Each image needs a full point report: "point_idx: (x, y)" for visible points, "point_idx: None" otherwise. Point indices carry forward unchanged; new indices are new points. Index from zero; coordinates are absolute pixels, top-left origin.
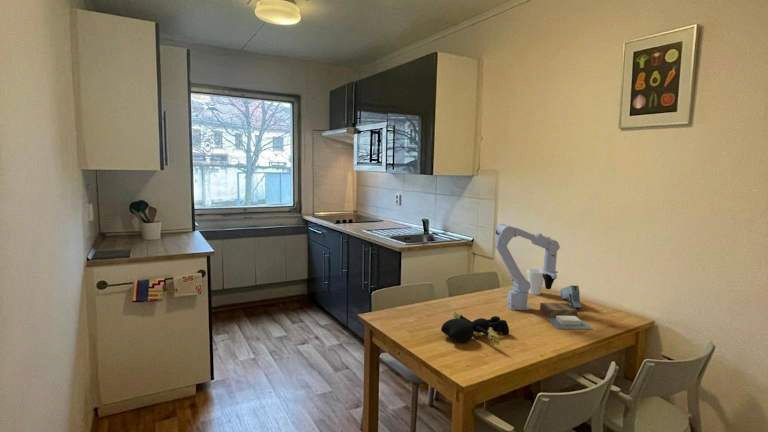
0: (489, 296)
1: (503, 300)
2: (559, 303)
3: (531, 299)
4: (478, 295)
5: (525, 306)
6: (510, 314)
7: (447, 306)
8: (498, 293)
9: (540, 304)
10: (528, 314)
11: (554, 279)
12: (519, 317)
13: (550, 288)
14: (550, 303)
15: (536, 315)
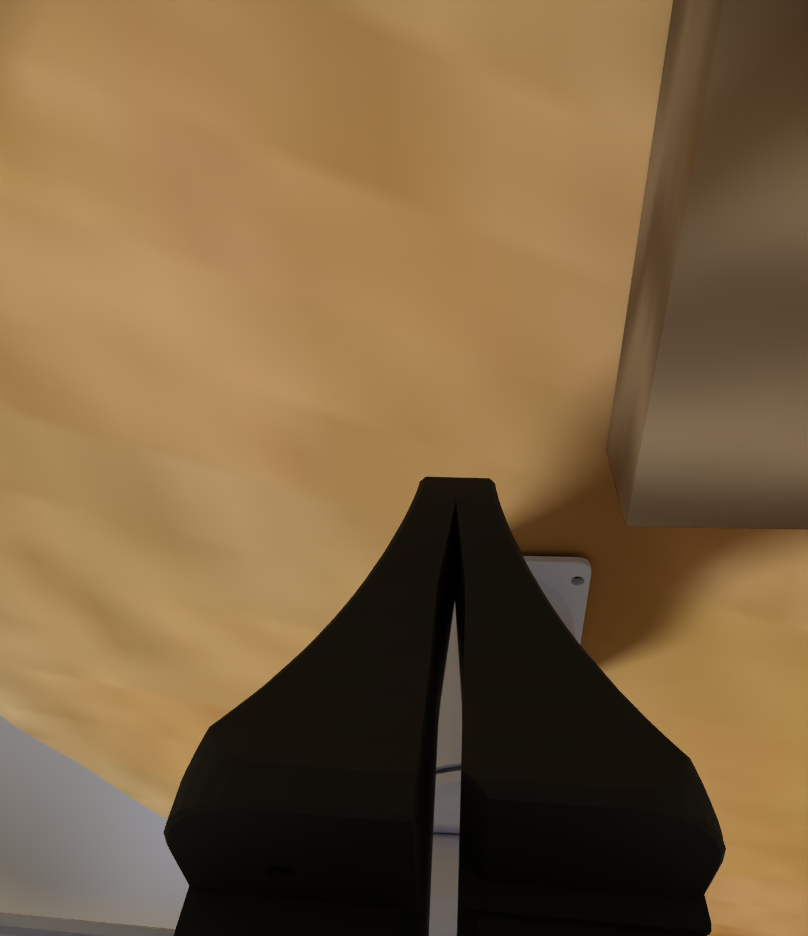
0: (173, 731)
1: (265, 673)
2: (703, 208)
3: (120, 402)
4: (175, 781)
5: (567, 620)
6: (687, 725)
7: None
8: (35, 654)
9: (625, 509)
10: (720, 602)
11: (642, 719)
12: (788, 690)
13: (494, 494)
14: (674, 390)
15: (774, 541)
